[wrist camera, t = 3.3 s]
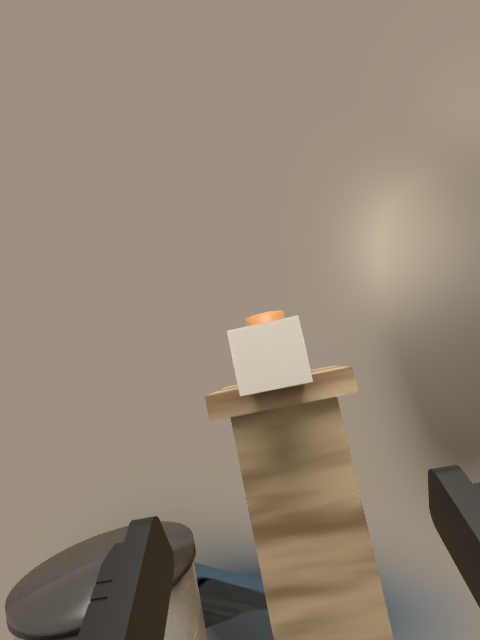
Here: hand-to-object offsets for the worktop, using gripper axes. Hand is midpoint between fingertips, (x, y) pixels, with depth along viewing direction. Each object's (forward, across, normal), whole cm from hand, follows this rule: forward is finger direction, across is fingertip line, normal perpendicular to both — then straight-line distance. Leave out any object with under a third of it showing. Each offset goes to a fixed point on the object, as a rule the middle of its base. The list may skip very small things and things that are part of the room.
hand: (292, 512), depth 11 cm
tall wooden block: (+7, 0, +38) cm, 38 cm away
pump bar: (+19, 0, +8) cm, 21 cm away
